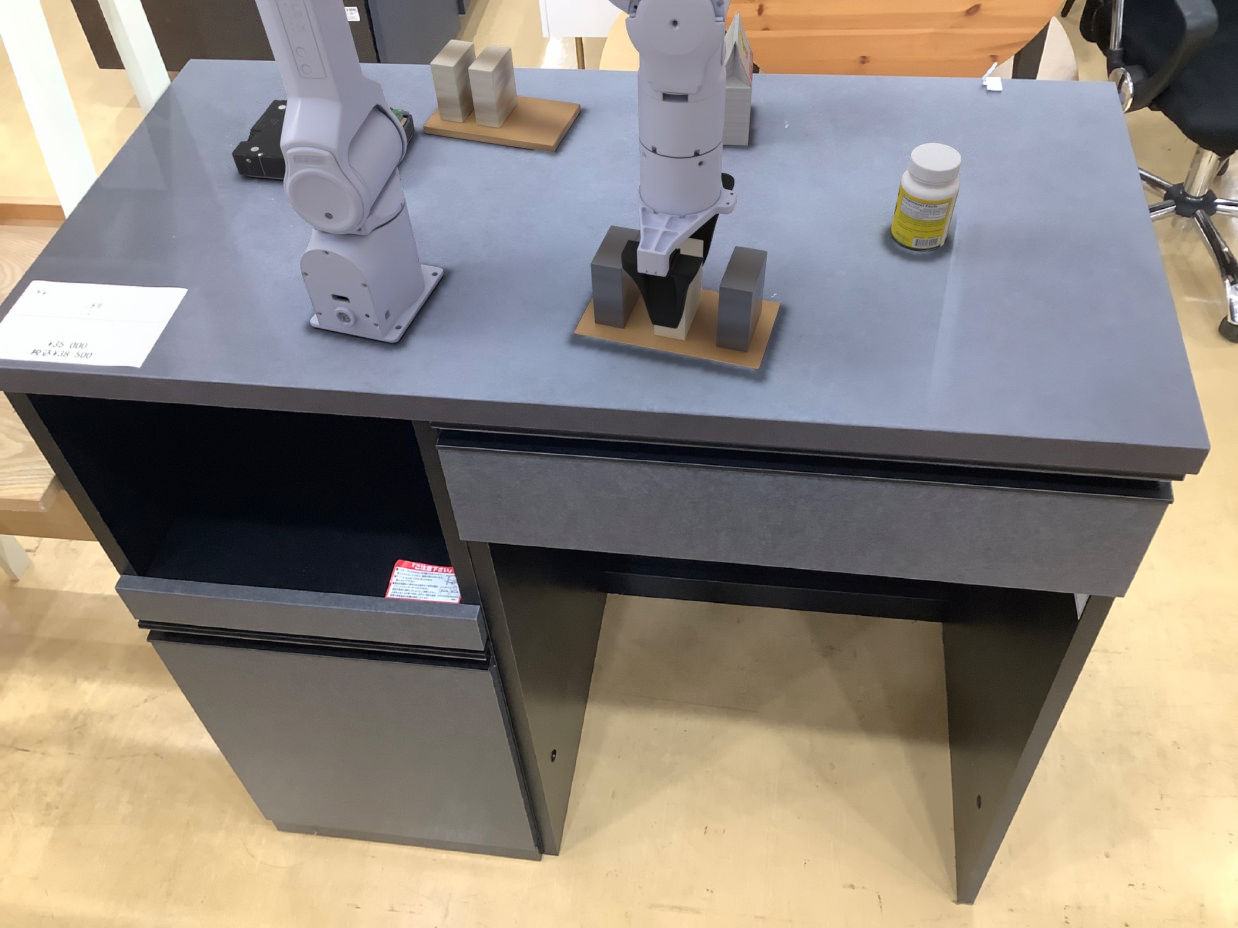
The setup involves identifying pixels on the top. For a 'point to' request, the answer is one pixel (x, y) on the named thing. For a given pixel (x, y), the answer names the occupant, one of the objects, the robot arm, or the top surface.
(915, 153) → the supplement bottle
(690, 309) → the beige block
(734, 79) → the gable top juice carton
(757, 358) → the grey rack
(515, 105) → the cream rack
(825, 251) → the top surface
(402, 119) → the disk drive
